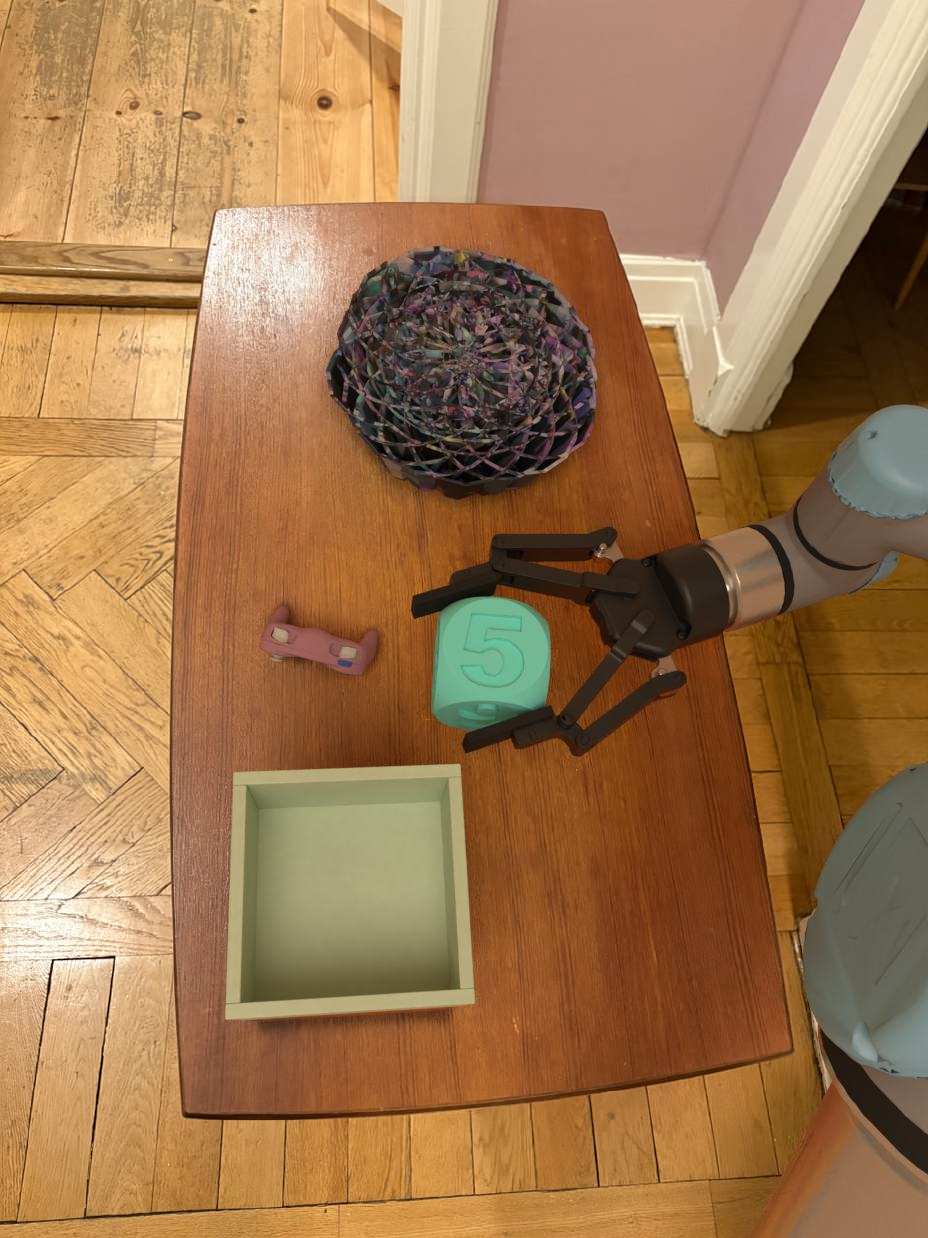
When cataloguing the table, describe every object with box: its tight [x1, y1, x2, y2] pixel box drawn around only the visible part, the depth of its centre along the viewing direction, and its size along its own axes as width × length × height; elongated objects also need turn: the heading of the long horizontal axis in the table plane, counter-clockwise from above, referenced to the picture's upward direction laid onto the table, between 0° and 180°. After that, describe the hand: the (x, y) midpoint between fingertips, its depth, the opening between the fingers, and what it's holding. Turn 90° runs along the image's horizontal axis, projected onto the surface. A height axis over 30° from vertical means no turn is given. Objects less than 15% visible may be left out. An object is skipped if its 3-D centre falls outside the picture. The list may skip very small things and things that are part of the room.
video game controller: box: [258, 604, 379, 676], centre depth 82 cm, size 10×5×7 cm, turn 76°
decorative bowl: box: [325, 245, 599, 501], centre depth 93 cm, size 26×28×10 cm
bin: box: [224, 763, 476, 1021], centre depth 58 cm, size 14×14×8 cm
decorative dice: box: [430, 596, 552, 732], centre depth 71 cm, size 8×8×8 cm
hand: (438, 674), depth 68 cm, fingers closed on decorative dice, 10 cm apart
